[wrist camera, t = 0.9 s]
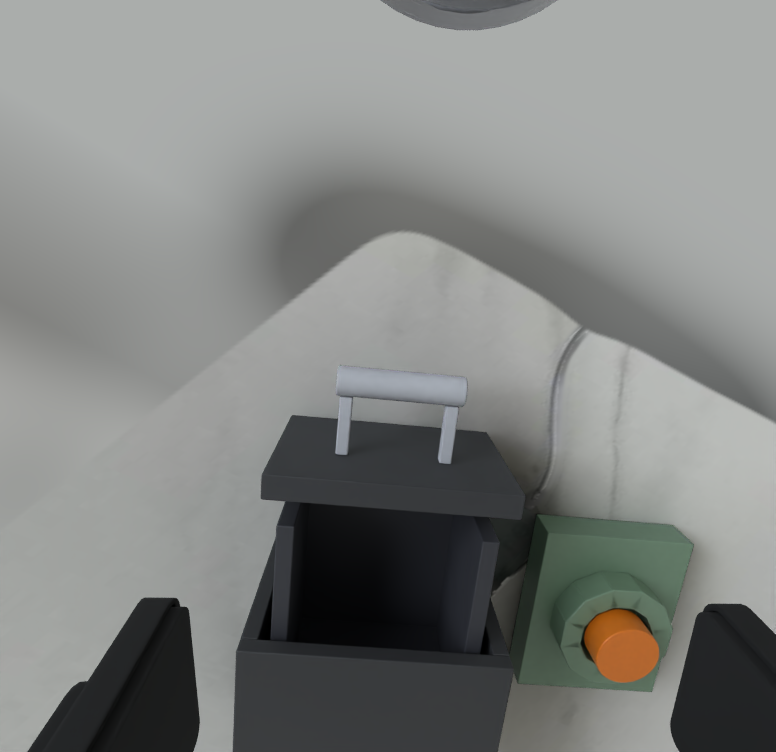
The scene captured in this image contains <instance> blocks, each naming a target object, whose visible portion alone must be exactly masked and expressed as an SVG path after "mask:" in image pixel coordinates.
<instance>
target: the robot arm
mask: <svg viewBox="0 0 776 752" xmlns="http://www.w3.org/2000/svg"><path fill="white" fill-rule="evenodd" d="M199 724H200V718H199V708H198V698H197V688H196V678H195V667H194V657H193V647H192V637H191V627H190V617H189V610H188V608H187V607H180V604H179V601H178V599H177V598H143V599H141V601H140V602H139V603H138V604H137V606H136V607H135V609H134V611H133V612H132V614H131V615H130V617H129V618H128V620H127V621H126V623H125V624H124V626H123V628H122V629H121V631H120V632H119V634H118V635H117V637H116V638H115V640H114V641H113V643H112V645H111V646H110V648H109V649H108V651H107V652H106V654H105V655H104V657H103V659H102V660H101V662H100V663H99V665H98V666H97V668H96V669H95V671H94V672H93V674H92V676H91V677H90V679H89V680H88V681H85V682H79V683H78V684H76V685H75V686H73V687H72V688H71V690H70V691H69V692H68V693H67V694H66V696H65V697H64V698H63V700H62V701H61V703H60V704H59V706H58V707H57V709H56V710H55V712H54V713H53V715H52V716H51V718H50V719H49V721H48V722H47V724H46V725H45V727H44V728H43V730H42V731H41V732H40V734H39V735H38V737H37V738H36V740H35V741H34V743H33V744H32V746H31V747H30V749H29V750H28V752H193V751H194V748H195V745H196V742H197V737H198V732H199ZM670 727H671V733H672V737H673V740H674V743H675V745H676V747H677V748H678V750H679V752H776V634H775V633H774V632H773V631H772V630H771V629H770V628H769V627H768V626H767V625H766V624H765V623H764V622H763V621H762V620H761V619H760V618H759V617H758V616H757V615H756V614H755V613H754V612H753V611H752V610H751V609H749V608H748V607H747V606H745V605H742V604H708V605H707V606H706V607H705V608H704V611H703V612H700V613H699V614H698V615H697V617H696V620H695V624H694V628H693V632H692V636H691V640H690V644H689V648H688V653H687V657H686V661H685V665H684V669H683V673H682V677H681V681H680V685H679V689H678V693H677V697H676V701H675V705H674V709H673V713H672V717H671V723H670Z"/></svg>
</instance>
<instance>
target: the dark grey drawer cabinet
mask: <svg viewBox="0 0 776 752" xmlns="http://www.w3.org/2000/svg"><path fill="white" fill-rule="evenodd" d="M275 545H276V538H275V541H274V544H273V547H272V550H271V553H270V556H269V558H268V561H267V564H266V567H265V570H264V573H263V576H262V579H261V581H260V584H259V587H258V590H257V593H256V596H255V599H254V602H253V605H252V607H251V610H250V613H249V616H248V619H247V622H246V625H245V628H244V630H243V633H242V636H241V640H240V642H239V645H238V648H237V651H236V673H235V703H234V732H233V752H498V747H499V742H500V737H501V732H502V727H503V722H504V717H505V712H506V707H507V702H508V697H509V692H510V687H511V682H512V677H513V672H514V668H513V665H512V662H511V659H510V657H509V653H508V650H507V647H506V644H505V641H504V638H503V635H502V632H501V629H500V626H499V623H498V620H497V617H496V614H495V611H494V608H493V605H492V602H491V599H490V601H489V607H488V612H487V618H486V624H485V629H484V635H483V640H482V646H481V652H480V654H467V653H452V652H437V651H421V650H406V649H391V648H376V647H361V646H346V645H330V644H315V643H300V642H285V641H270V638H271V619H272V601H273V582H274V563H275Z"/></svg>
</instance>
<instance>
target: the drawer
mask: <svg viewBox="0 0 776 752" xmlns="http://www.w3.org/2000/svg"><path fill="white" fill-rule="evenodd" d="M467 391H468V383H467V379H466V378H465V377H459V376H448V375H438V374H427V373H416V372H406V371H395V370H385V369H374V368H363V367H353V366H342V365H340V366H339V367H338V372H337V381H336V395H339V396H340V403H339V415H338V419H330V418H318V417H307V416H296V415H292V416H291V418H290V420H289V422H288V424H287V426H286V428H285V430H284V432H283V434H282V436H281V438H280V440H279V442H278V444H277V446H276V448H275V450H274V452H273V454H272V456H271V458H270V460H269V461H268V463H267V465H266V467H265V469H264V471H263V473H262V480H261V499H264V500H277V501H285V504H284V507H283V510H282V512H281V515H280V518H279V521H278V524H277V526H276V545H275V563H274V582H273V601H272V619H271V638H270V641H285V642H300V643H315V644H330V645H346V646H361V647H376V648H391V649H406V650H421V651H437V652H452V653H467V654H480V652H481V646H482V640H483V635H484V629H485V624H486V618H487V612H488V607H489V601H490V595H491V590H492V584H493V579H494V573H495V567H496V562H497V556H498V550H499V545H500V543H499V540H498V538H497V536H496V533H495V531H494V529H493V526H492V524H491V522H490V519H489V518H502V519H514V520H521V519H522V514H523V509H524V504H525V498H526V496H525V494H524V492H523V491H522V489H521V487H520V486H519V484H518V483H517V481H516V479H515V478H514V476H513V474H512V473H511V471H510V470H509V468H508V466H507V465H506V463H505V462H504V460H503V458H502V457H501V455H500V453H499V452H498V450H497V449H496V447H495V445H494V444H493V442H492V440H491V439H490V437H489V436H488V434H487V433H486V432H476V431H465V430H456V426H457V419H458V412H459V407H458V406H460V407H462V406H464V405H465V402H466V399H467ZM353 397H361V398H372V399H383V400H394V401H405V402H416V403H427V404H438V405H445V409H444V416H443V423H442V428H431V427H420V426H409V425H397V424H386V423H375V422H363V421H352V420H351V415H352V404H353Z"/></svg>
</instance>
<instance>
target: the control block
mask: <svg viewBox="0 0 776 752" xmlns="http://www.w3.org/2000/svg"><path fill="white" fill-rule="evenodd" d="M693 546H694V544H693V543H692V542H691V541H690V540H689V539H687V538H686V537H685V536H684V535H683V534H682V533H681V532H680V531H679V530H678V529H677V528H676V527H674V526H673V525H665V524H652V523H640V522H627V521H615V520H603V519H590V518H578V517H566V516H553V515H541V514H537V516H536V521H535V526H534V531H533V536H532V541H531V547H530V552H529V557H528V562H527V567H526V572H525V577H524V582H523V588H522V593H521V598H520V603H519V608H518V613H517V618H516V623H515V629H514V634H513V639H512V644H511V649H510V654H509V657H510V659H511V662H512V665H513V668H514V674H515V677H516V680H517V683H518V684H532V685H548V686H564V687H580V688H596V689H612V690H627V691H643V692H652V690H653V686H654V683H655V679H656V676H657V672H658V669H659V665H660V662H661V659H662V658H663V657H664V656H665V654H666V652H667V648H668V645H669V641H670V638H671V634H672V630H673V628H672V625H671V623H672V620H673V616H674V613H675V609H676V606H677V602H678V599H679V595H680V592H681V588H682V585H683V581H684V578H685V574H686V571H687V567H688V564H689V560H690V557H691V553H692V550H693ZM611 609H624V610H628V611H631V612H632V613H634V614H636V615H637V616H638V617H639V618H640V619H641V621H642V622H643V623H644V625H645V626H646V627H647V629H648V630H649V632H650V633H651V634H652V636H653V637H654V639H655V640H656V641H657V644H658V647H659V659H658V662H657V664H656V666H655V667H654V669H653V670H652V671H651V672H650V673H649V674H647V675H646V676H645V677H643V678H641V679H639V680H636V681H633V682H627V683H620V682H614V681H611V680H609V679H607V678H606V677H604V676H603V675H602V674H601V673H600V671H599V670H598V668H597V666H596V664H595V662H594V661H593V659H592V657H591V655H590V653H589V651H588V649H587V647H586V645H585V641H584V634H585V630H586V628H587V626H588V624H589V623H590V621H591V620H592V619H593V618H594V617H596V616H597V615H598V614H600V613H602V612H605V611H607V610H611Z"/></svg>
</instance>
